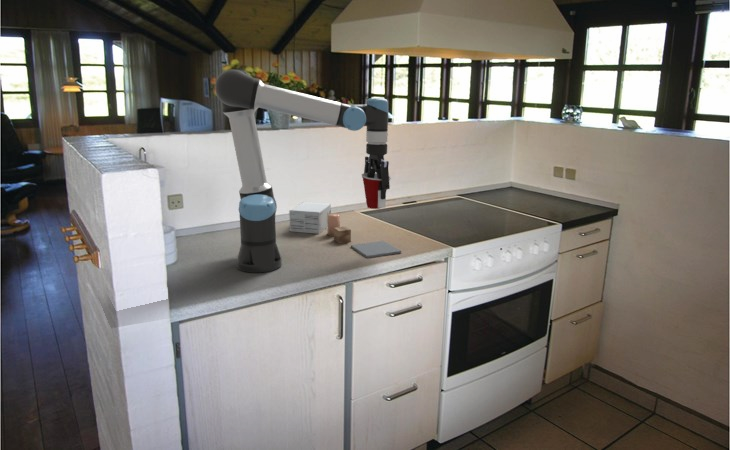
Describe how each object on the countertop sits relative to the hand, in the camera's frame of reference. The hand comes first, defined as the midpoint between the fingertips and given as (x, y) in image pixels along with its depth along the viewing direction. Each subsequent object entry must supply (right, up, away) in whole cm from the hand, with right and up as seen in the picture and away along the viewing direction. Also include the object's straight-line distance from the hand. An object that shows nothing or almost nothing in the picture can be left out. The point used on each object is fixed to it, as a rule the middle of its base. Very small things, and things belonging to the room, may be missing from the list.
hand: (375, 204), depth 201 cm
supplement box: (-27, -9, +33) cm, 44 cm away
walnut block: (-13, -14, +15) cm, 24 cm away
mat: (0, -17, +4) cm, 17 cm away
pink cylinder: (-17, -11, +24) cm, 31 cm away
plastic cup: (0, -1, 0) cm, 1 cm away
